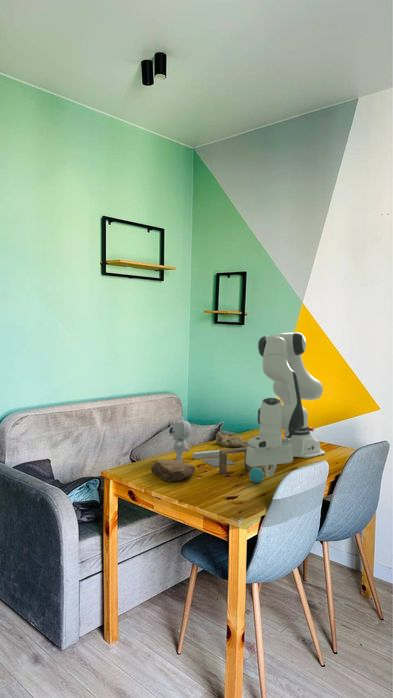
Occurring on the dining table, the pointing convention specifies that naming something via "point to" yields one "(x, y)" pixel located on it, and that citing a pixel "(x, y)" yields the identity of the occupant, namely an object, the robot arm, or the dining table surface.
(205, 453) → the white long bar
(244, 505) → the dining table surface
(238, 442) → the figurine
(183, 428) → the toy
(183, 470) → the rock
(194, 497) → the dining table surface
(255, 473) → the ball
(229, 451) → the bridge
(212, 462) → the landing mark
